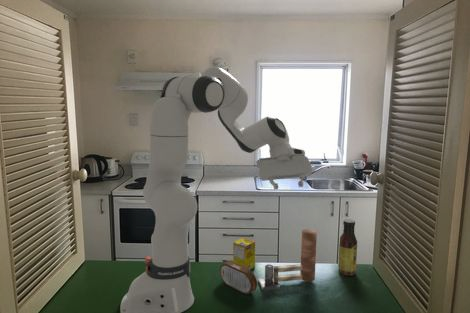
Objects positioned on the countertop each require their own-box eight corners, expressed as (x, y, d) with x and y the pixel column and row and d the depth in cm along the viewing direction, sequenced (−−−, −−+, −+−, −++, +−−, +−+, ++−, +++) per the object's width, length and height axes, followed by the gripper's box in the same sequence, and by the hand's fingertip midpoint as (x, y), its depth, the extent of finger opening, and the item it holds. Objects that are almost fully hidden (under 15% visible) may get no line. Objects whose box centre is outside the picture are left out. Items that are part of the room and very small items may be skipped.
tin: (257, 295, 113) (257, 271, 112) (251, 299, 111) (251, 274, 110) (224, 279, 124) (224, 257, 122) (218, 282, 121) (218, 259, 120)
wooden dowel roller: (276, 284, 117) (277, 236, 114) (271, 277, 122) (272, 231, 119) (317, 280, 119) (319, 234, 117) (311, 273, 124) (313, 228, 122)
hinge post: (262, 290, 116) (262, 271, 115) (258, 281, 122) (258, 263, 121) (279, 289, 117) (280, 269, 116) (274, 280, 123) (275, 261, 122)
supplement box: (255, 268, 131) (255, 241, 129) (245, 274, 127) (245, 246, 125) (243, 263, 135) (243, 237, 133) (233, 269, 130) (233, 242, 129)
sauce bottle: (356, 277, 125) (360, 224, 122) (338, 275, 126) (341, 223, 123) (354, 269, 131) (357, 218, 128) (337, 267, 132) (339, 217, 129)
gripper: (256, 154, 133) (261, 186, 125) (308, 149, 134) (317, 180, 127) (255, 163, 138) (260, 194, 131) (305, 158, 140) (313, 188, 132)
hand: (288, 187), depth 129 cm, fingers open, 8 cm apart
